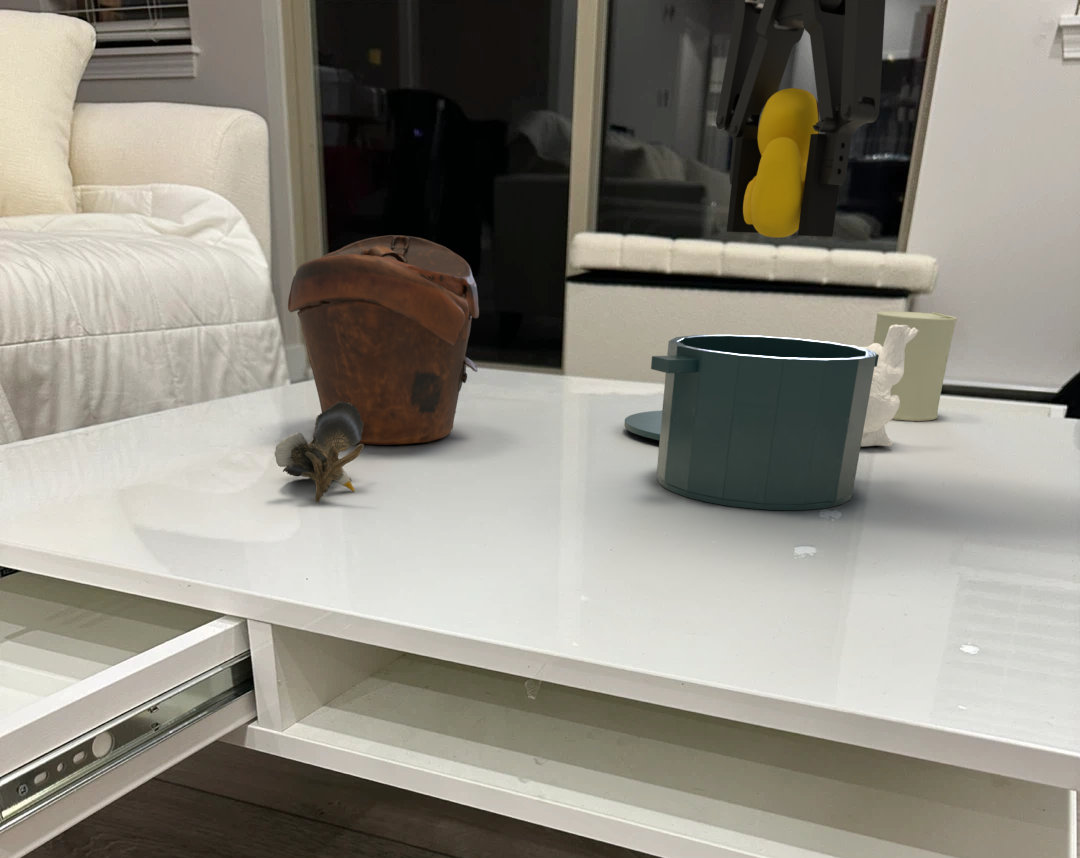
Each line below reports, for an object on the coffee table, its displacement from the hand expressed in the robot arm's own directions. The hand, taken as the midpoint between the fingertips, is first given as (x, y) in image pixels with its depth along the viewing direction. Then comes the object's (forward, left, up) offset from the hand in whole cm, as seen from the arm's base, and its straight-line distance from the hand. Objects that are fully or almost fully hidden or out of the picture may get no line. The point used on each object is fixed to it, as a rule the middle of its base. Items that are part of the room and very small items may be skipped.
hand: (777, 233), depth 81 cm
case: (+31, +20, -20) cm, 42 cm away
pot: (+1, -2, -20) cm, 20 cm away
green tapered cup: (+26, -45, -20) cm, 56 cm away
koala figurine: (+12, -26, -20) cm, 35 cm away
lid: (+21, -12, -19) cm, 31 cm away
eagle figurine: (+11, +33, -20) cm, 40 cm away
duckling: (0, 0, 0) cm, 1 cm away
